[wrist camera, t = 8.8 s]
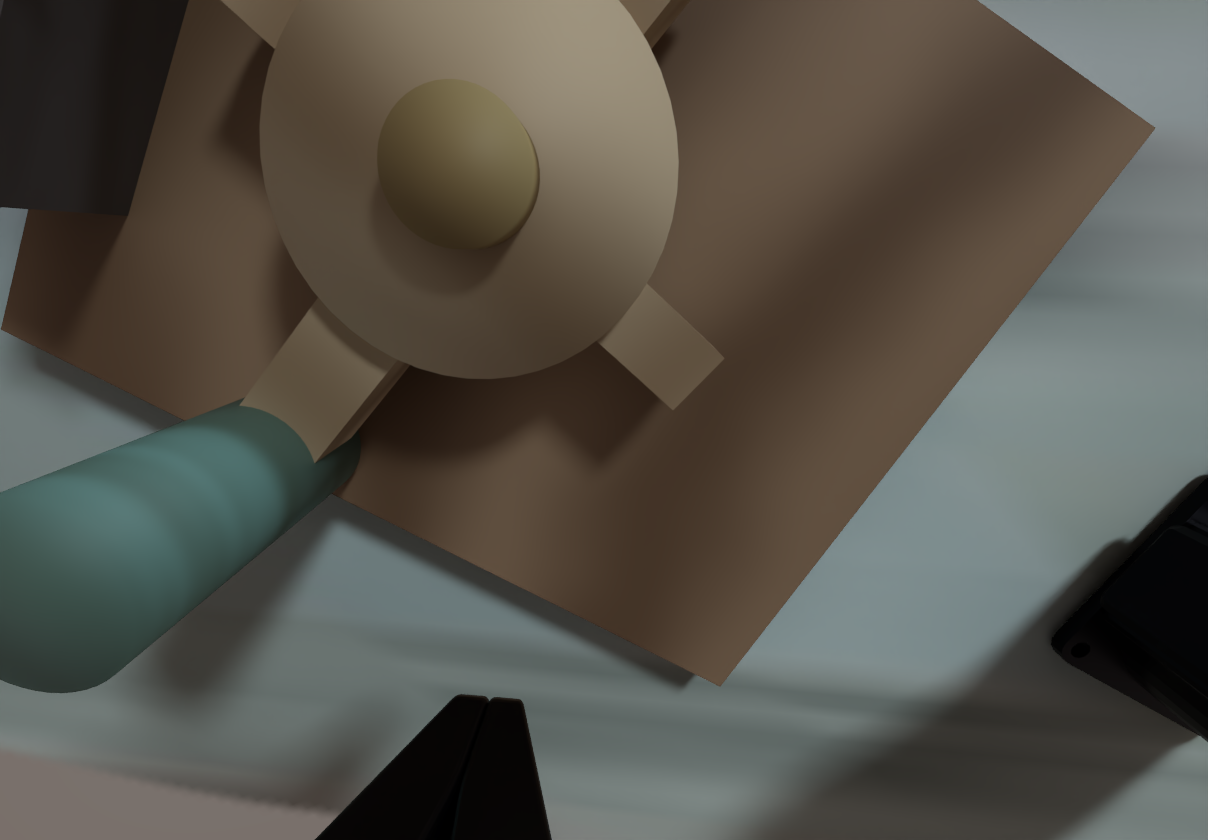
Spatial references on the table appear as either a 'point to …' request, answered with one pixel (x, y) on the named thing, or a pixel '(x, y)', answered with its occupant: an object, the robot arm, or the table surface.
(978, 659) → the table surface
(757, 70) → the stand
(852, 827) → the table surface
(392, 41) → the capstan
